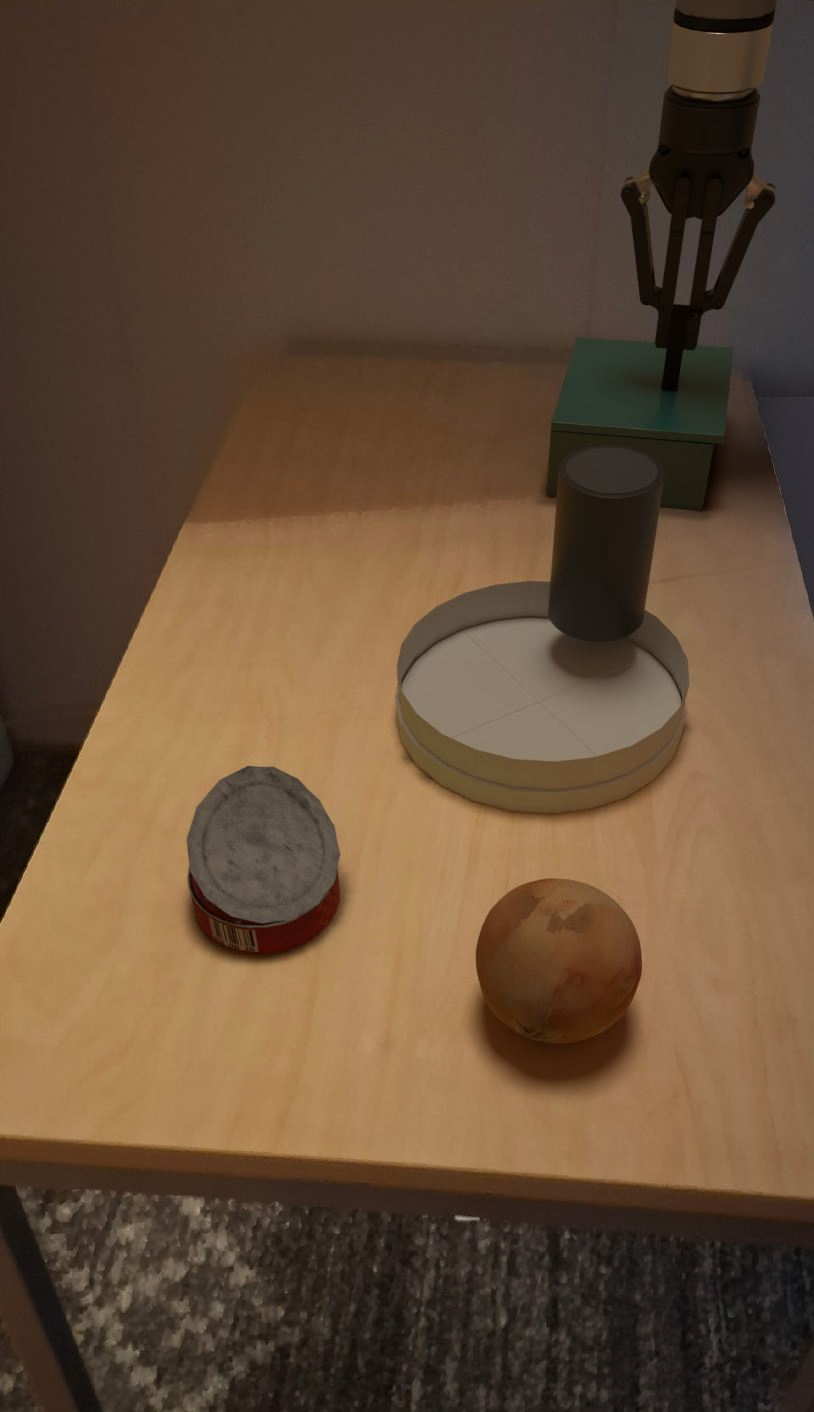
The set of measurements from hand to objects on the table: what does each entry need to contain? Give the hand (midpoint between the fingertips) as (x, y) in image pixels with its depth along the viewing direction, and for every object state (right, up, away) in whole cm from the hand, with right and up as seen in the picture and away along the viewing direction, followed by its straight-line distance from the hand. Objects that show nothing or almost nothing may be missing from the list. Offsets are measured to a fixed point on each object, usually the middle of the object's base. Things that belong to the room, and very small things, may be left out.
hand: (670, 382), depth 109 cm
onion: (-16, -55, -37) cm, 68 cm away
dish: (-15, -34, -19) cm, 42 cm away
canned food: (-34, -48, -31) cm, 67 cm away
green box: (-2, -5, +7) cm, 9 cm away
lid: (-2, 0, +1) cm, 2 cm away
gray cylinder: (-10, -26, -18) cm, 33 cm away
